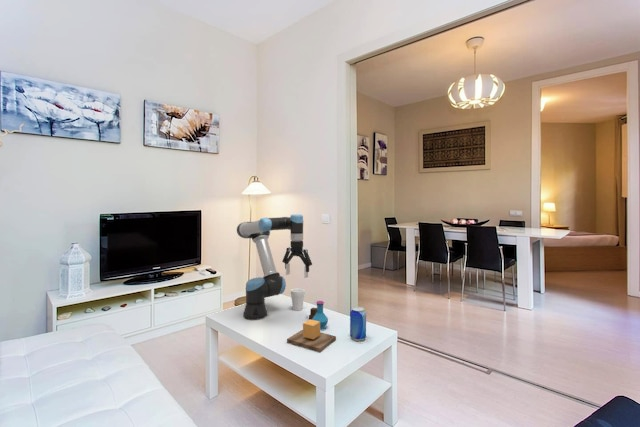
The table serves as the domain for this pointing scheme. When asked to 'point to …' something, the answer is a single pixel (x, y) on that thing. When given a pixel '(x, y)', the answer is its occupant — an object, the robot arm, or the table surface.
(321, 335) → the post board
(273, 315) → the table surface
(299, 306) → the foam cup
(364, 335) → the beer can
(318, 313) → the perfume bottle
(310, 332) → the wooden toy cube
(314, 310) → the stack of crates
